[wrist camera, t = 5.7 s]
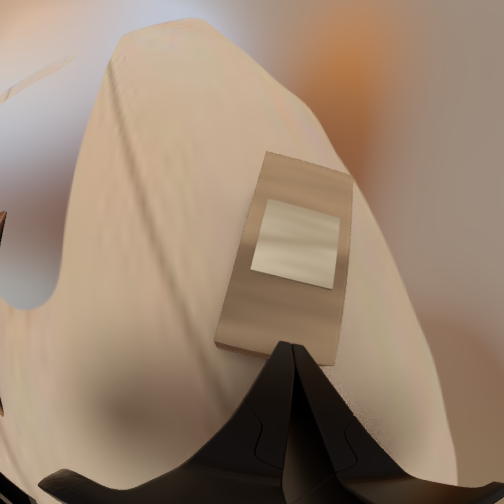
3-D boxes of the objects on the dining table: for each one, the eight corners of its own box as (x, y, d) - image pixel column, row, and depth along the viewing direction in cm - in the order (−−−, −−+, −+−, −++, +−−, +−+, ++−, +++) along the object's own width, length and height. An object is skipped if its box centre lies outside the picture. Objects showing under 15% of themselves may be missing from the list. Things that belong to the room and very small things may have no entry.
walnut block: (335, 365, 10) (354, 173, 14) (213, 340, 10) (266, 148, 14) (301, 366, 15) (325, 219, 19) (217, 347, 15) (256, 200, 19)
